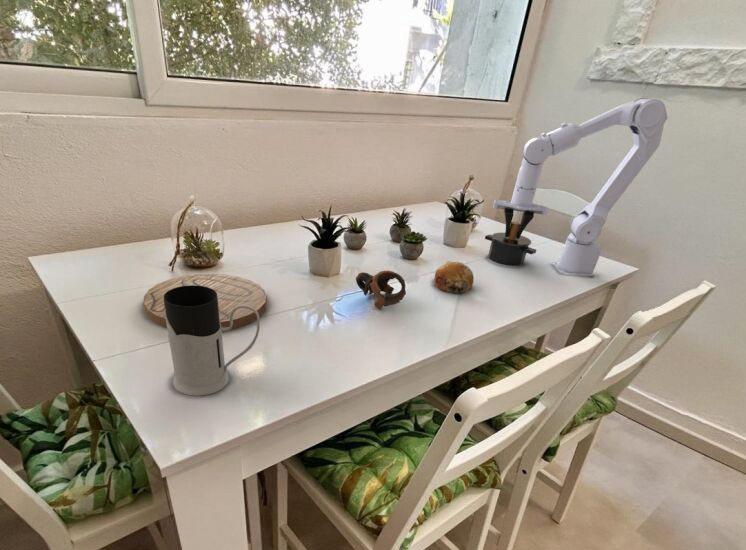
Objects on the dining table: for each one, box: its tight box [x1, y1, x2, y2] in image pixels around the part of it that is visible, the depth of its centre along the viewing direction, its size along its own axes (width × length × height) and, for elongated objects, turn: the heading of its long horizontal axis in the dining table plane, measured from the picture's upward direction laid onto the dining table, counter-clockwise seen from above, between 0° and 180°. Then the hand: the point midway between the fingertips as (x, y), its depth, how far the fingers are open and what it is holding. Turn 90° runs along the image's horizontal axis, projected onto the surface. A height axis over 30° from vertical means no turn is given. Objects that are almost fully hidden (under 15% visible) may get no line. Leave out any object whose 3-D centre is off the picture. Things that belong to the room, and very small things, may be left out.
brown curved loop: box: [355, 270, 407, 310], centre depth 106 cm, size 12×10×8 cm
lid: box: [491, 221, 532, 247], centre depth 134 cm, size 11×11×6 cm
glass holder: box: [164, 285, 261, 397], centre depth 72 cm, size 9×14×15 cm, turn 95°
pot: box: [484, 234, 537, 267], centre depth 137 cm, size 10×16×6 cm, turn 43°
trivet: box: [142, 273, 268, 330], centre depth 98 cm, size 25×25×2 cm
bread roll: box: [434, 260, 475, 294], centre depth 117 cm, size 10×10×8 cm
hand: (511, 236), depth 134 cm, fingers closed on lid, 3 cm apart
